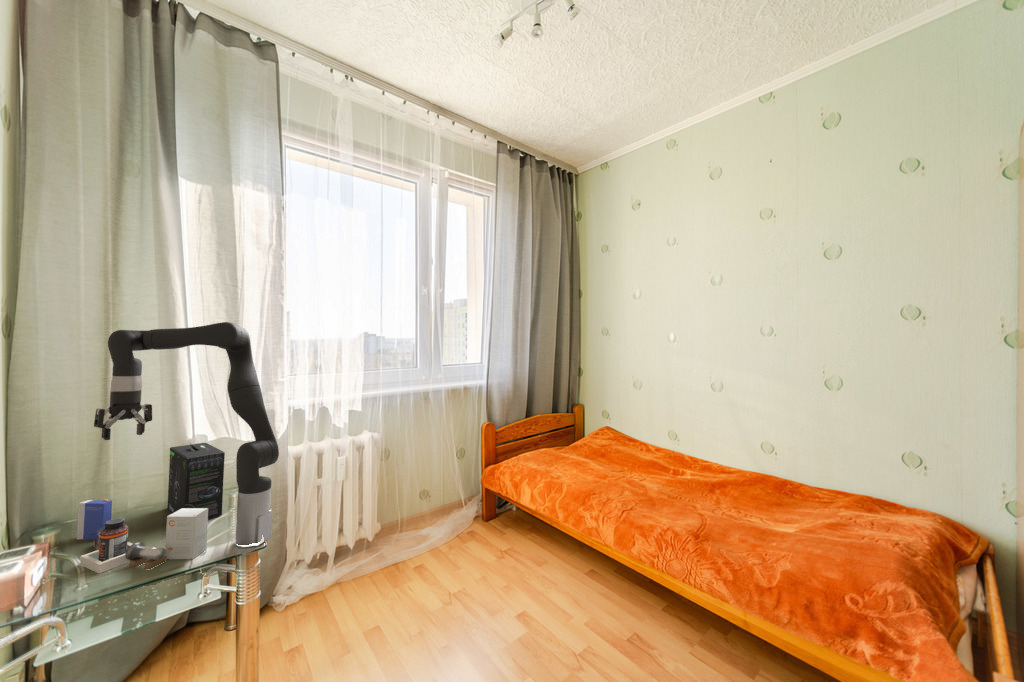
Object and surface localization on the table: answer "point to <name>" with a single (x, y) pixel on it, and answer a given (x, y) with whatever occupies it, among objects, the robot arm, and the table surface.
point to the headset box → (196, 478)
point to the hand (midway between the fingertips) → (123, 437)
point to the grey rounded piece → (145, 555)
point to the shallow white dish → (97, 566)
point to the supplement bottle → (113, 539)
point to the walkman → (93, 517)
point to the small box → (186, 533)
